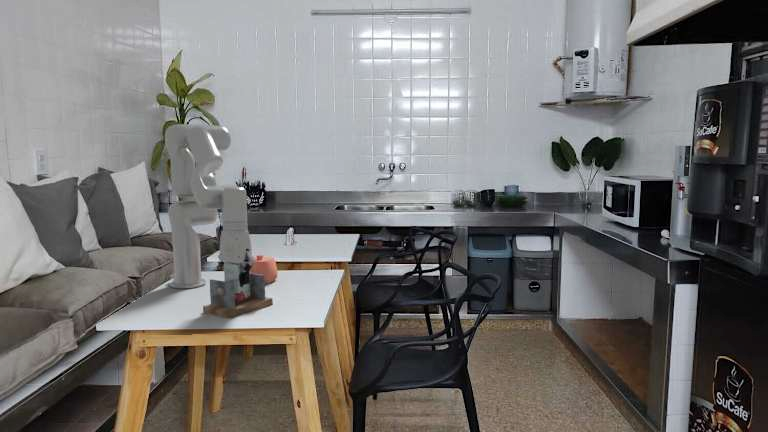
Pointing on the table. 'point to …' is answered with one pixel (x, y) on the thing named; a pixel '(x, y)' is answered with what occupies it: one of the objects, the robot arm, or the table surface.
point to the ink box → (236, 280)
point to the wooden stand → (225, 298)
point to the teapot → (265, 268)
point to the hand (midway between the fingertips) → (237, 282)
